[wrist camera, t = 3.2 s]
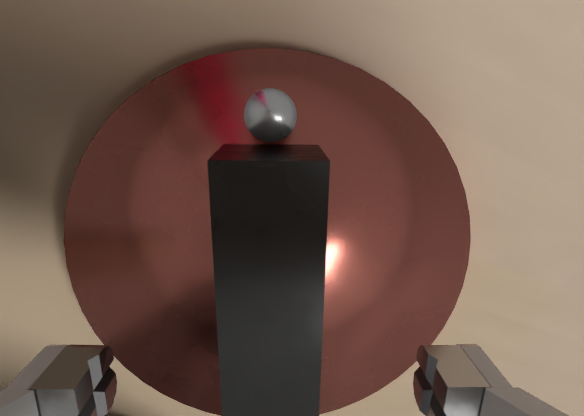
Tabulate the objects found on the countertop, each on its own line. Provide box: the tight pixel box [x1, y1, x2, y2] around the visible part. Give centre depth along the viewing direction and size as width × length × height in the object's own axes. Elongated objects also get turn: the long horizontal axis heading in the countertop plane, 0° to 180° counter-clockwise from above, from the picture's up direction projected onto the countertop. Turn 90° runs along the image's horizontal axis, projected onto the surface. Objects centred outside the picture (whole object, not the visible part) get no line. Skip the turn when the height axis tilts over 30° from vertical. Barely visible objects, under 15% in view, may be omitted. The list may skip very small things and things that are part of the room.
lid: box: [64, 48, 470, 416], centre depth 13 cm, size 15×15×4 cm
